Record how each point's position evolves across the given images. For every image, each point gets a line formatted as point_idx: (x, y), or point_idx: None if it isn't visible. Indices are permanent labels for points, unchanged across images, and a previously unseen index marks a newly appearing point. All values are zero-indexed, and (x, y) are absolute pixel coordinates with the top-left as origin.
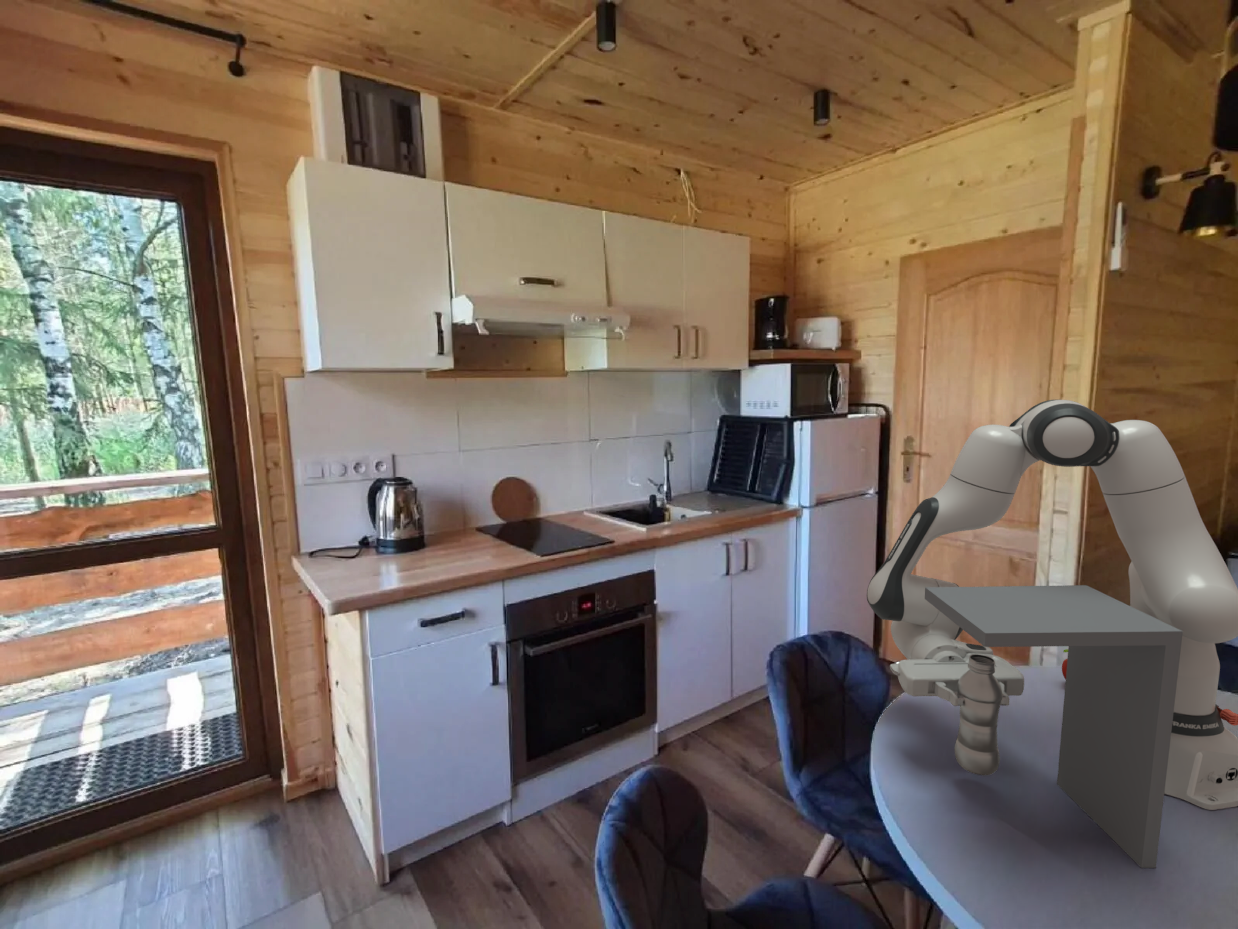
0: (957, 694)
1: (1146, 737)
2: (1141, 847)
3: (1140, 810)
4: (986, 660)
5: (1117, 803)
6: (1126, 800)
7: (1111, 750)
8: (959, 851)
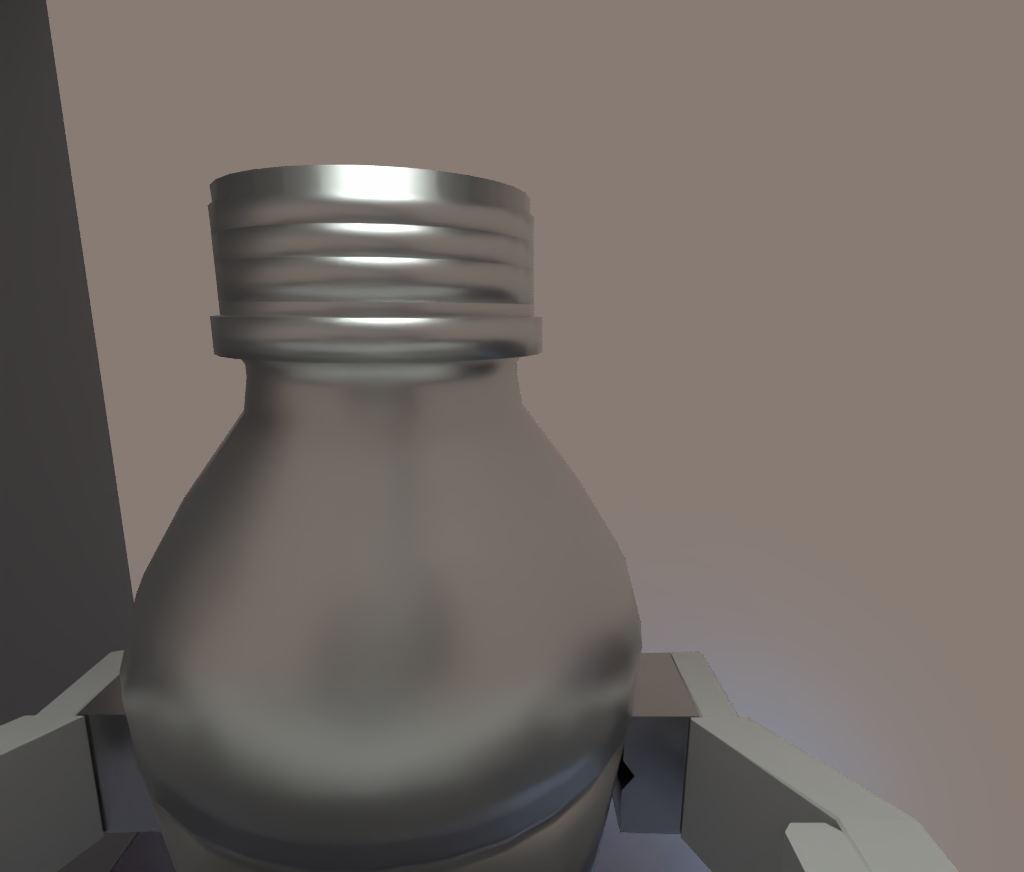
0: (656, 672)
1: (78, 394)
2: None
3: None
4: (228, 262)
5: None
6: None
7: None
8: (687, 850)
